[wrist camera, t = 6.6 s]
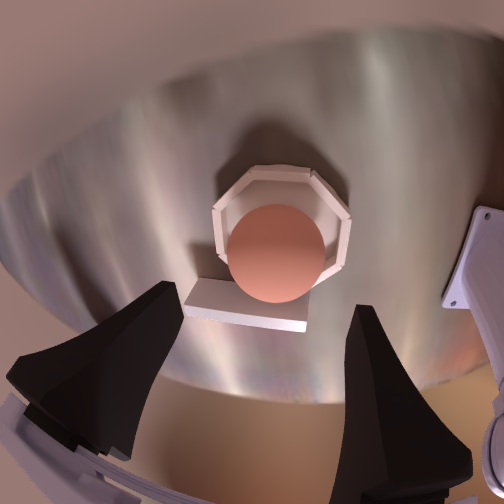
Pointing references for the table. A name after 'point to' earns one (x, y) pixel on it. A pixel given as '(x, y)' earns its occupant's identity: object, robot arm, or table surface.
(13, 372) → the robot arm
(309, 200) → the coaster
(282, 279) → the ball
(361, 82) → the table surface
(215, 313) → the wall
